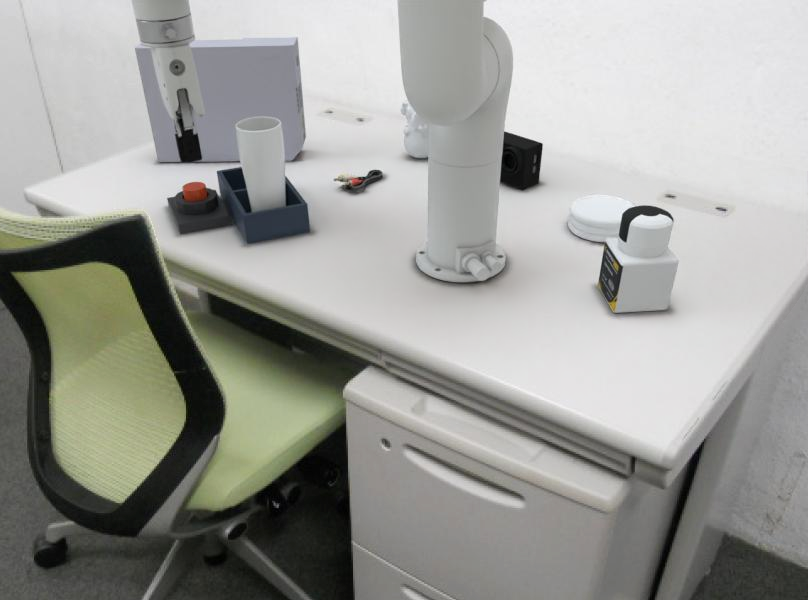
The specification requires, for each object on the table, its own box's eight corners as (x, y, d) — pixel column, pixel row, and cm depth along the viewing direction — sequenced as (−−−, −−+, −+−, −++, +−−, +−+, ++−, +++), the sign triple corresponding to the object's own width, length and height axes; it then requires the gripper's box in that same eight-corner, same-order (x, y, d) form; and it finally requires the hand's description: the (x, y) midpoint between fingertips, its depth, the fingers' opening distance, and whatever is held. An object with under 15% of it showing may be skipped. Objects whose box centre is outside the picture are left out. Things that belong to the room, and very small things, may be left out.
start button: (209, 200, 122) (207, 188, 121) (186, 204, 121) (184, 192, 120) (205, 191, 125) (203, 180, 124) (182, 195, 124) (180, 183, 123)
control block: (231, 225, 122) (227, 204, 120) (180, 234, 120) (175, 213, 118) (216, 199, 130) (213, 179, 128) (168, 207, 128) (164, 187, 126)
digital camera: (471, 175, 135) (473, 135, 131) (492, 167, 138) (495, 127, 134) (517, 192, 129) (521, 151, 125) (538, 183, 132) (543, 142, 127)
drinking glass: (284, 231, 118) (273, 132, 108) (242, 228, 119) (227, 130, 110) (297, 212, 123) (287, 116, 114) (256, 210, 124) (243, 115, 115)
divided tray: (310, 232, 119) (307, 204, 116) (247, 244, 116) (242, 215, 114) (277, 187, 133) (274, 161, 130) (220, 197, 131) (216, 170, 128)
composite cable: (376, 173, 137) (376, 159, 136) (394, 181, 134) (394, 167, 133) (332, 188, 132) (331, 174, 131) (349, 197, 129) (349, 182, 128)
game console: (165, 151, 148) (143, 39, 136) (307, 150, 147) (297, 36, 135) (157, 162, 144) (134, 47, 132) (303, 161, 143) (293, 45, 130)
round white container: (644, 223, 118) (649, 202, 116) (621, 249, 112) (625, 227, 110) (582, 209, 123) (585, 188, 121) (556, 233, 117) (559, 211, 114)
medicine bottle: (596, 286, 104) (610, 201, 97) (649, 283, 104) (667, 198, 97) (612, 314, 98) (629, 226, 91) (668, 310, 99) (689, 223, 91)
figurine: (393, 156, 143) (392, 89, 136) (419, 147, 147) (419, 81, 139) (420, 166, 139) (420, 97, 132) (446, 156, 143) (448, 88, 135)
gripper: (203, 37, 103) (225, 172, 114) (183, 16, 114) (206, 141, 126) (145, 45, 101) (174, 181, 112) (132, 23, 112) (159, 148, 124)
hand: (191, 159), depth 119 cm, fingers closed
